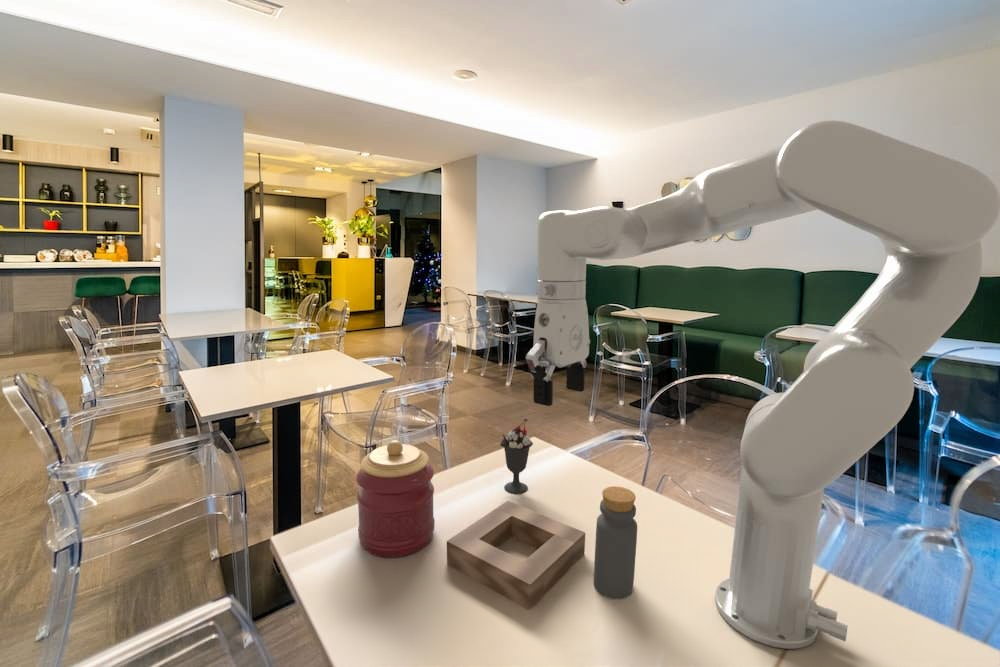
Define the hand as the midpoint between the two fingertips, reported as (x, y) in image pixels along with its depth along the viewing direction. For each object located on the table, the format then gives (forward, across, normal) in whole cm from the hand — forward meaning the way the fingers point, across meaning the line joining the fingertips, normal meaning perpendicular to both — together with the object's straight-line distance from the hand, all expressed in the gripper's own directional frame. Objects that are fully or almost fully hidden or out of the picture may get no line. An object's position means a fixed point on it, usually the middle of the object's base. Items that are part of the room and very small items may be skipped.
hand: (559, 396), depth 80 cm
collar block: (+26, -8, +3) cm, 27 cm away
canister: (+26, -16, +22) cm, 38 cm away
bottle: (+26, -4, -12) cm, 29 cm away
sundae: (+26, +11, +17) cm, 33 cm away
